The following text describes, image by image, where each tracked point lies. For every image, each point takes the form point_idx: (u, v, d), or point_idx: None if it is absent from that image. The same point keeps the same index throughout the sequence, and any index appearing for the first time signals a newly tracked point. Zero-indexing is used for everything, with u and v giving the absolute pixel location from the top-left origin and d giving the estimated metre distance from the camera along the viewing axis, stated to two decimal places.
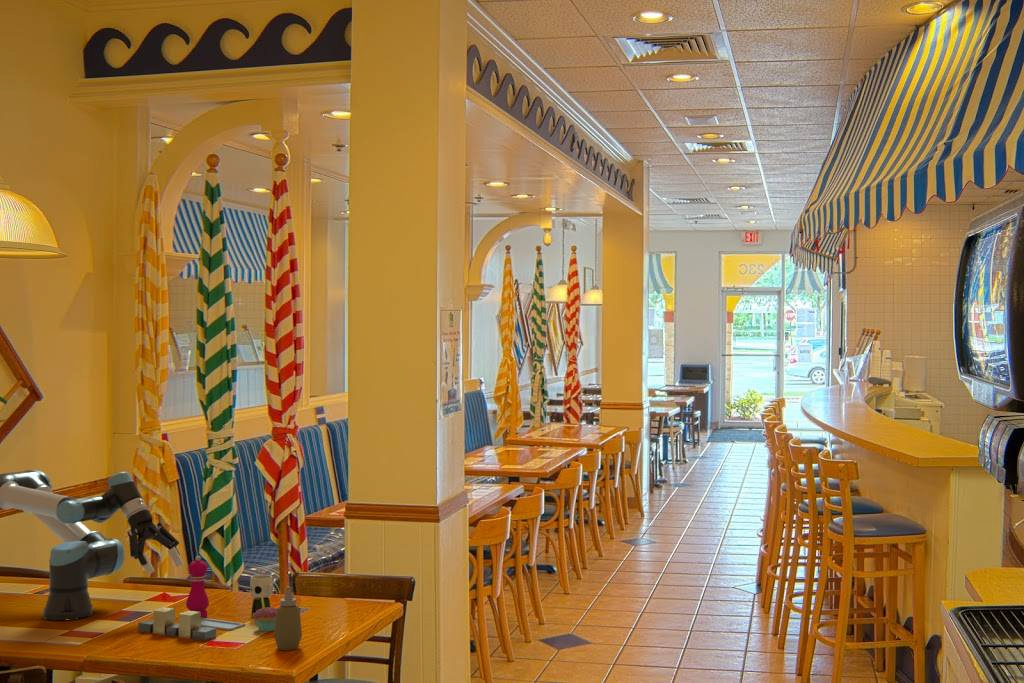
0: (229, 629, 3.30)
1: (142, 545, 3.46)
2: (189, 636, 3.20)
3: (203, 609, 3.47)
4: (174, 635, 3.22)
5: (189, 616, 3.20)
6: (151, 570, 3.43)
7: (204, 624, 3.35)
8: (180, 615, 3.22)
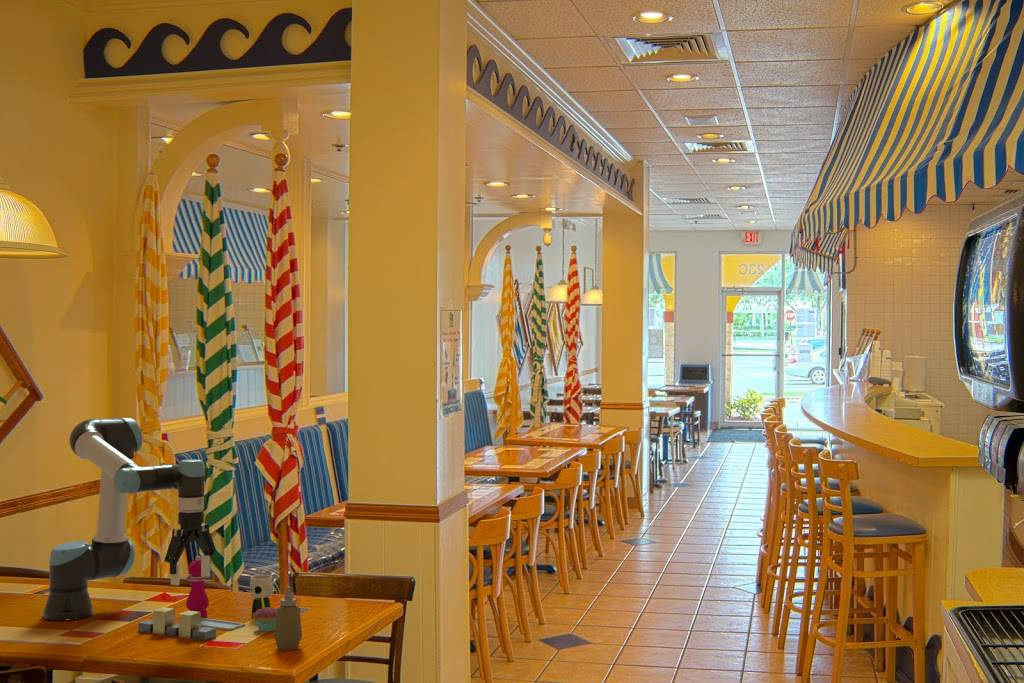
0: (229, 629, 3.30)
1: (180, 552, 3.18)
2: (189, 636, 3.20)
3: (203, 609, 3.47)
4: (174, 635, 3.22)
5: (189, 616, 3.20)
6: (176, 583, 3.17)
7: (204, 624, 3.35)
8: (180, 615, 3.22)
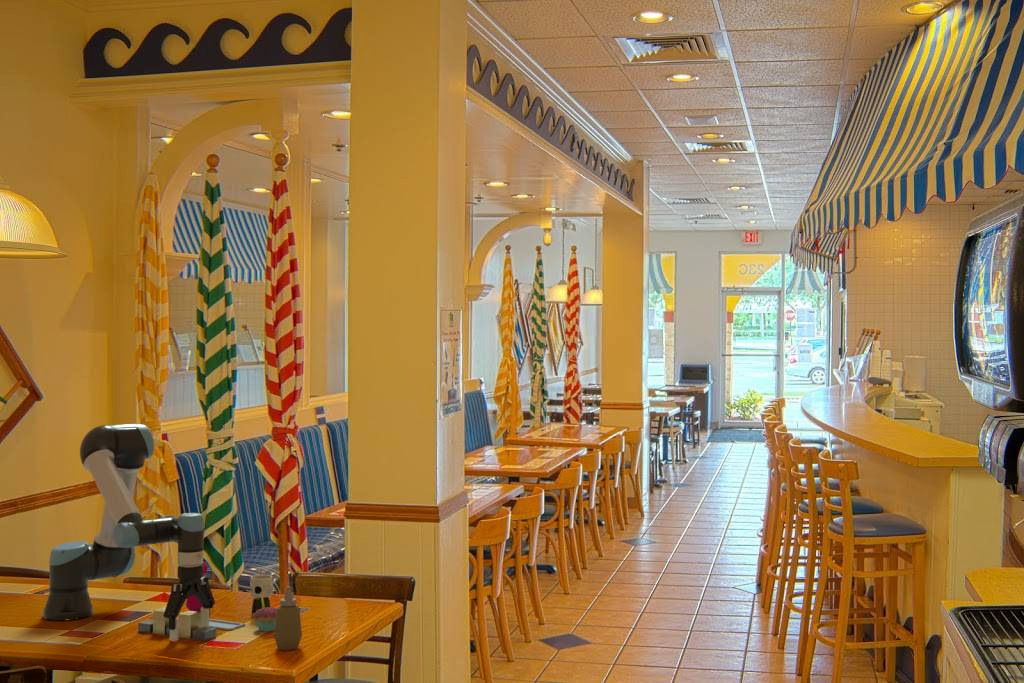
0: (229, 629, 3.30)
1: (179, 607, 3.17)
2: (189, 636, 3.20)
3: None
4: None
5: (189, 616, 3.20)
6: (175, 638, 3.16)
7: None
8: (180, 615, 3.22)
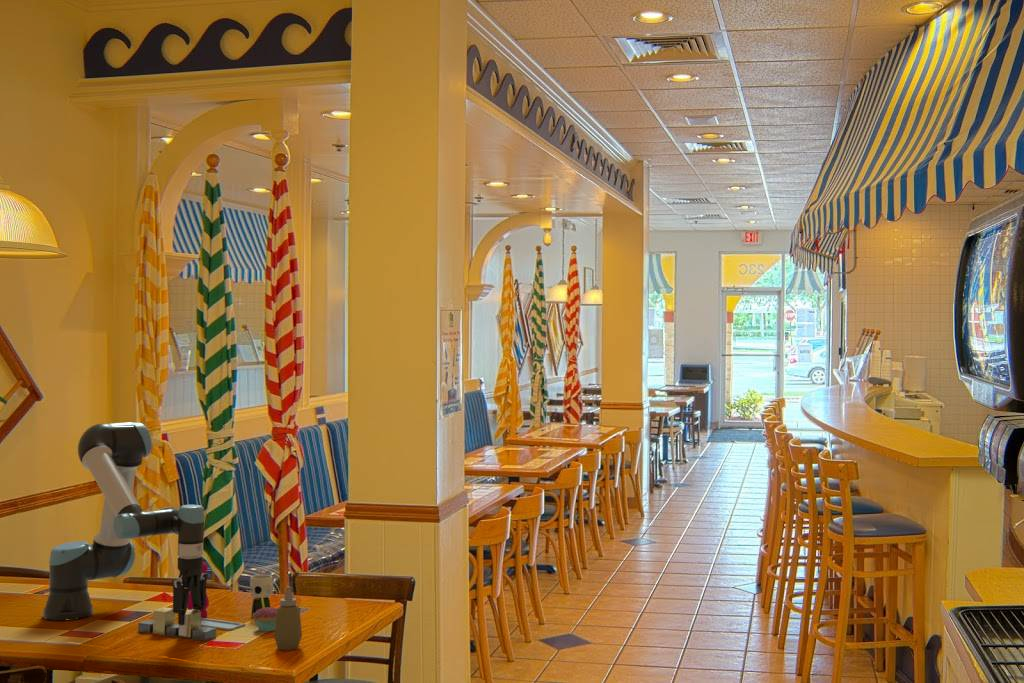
0: (229, 629, 3.30)
1: (186, 602, 3.20)
2: (189, 635, 3.20)
3: (203, 609, 3.47)
4: (174, 635, 3.22)
5: (189, 615, 3.20)
6: (184, 634, 3.20)
7: (204, 624, 3.35)
8: None
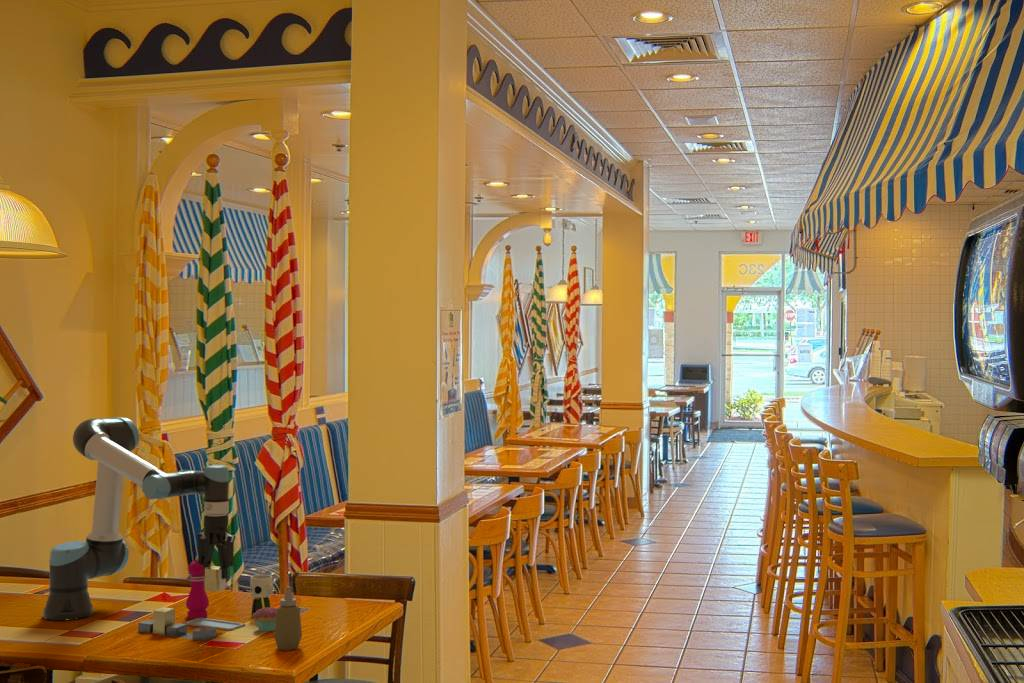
0: (229, 629, 3.30)
1: (205, 556, 3.37)
2: None
3: (203, 609, 3.47)
4: (174, 635, 3.22)
5: None
6: None
7: (204, 624, 3.35)
8: None
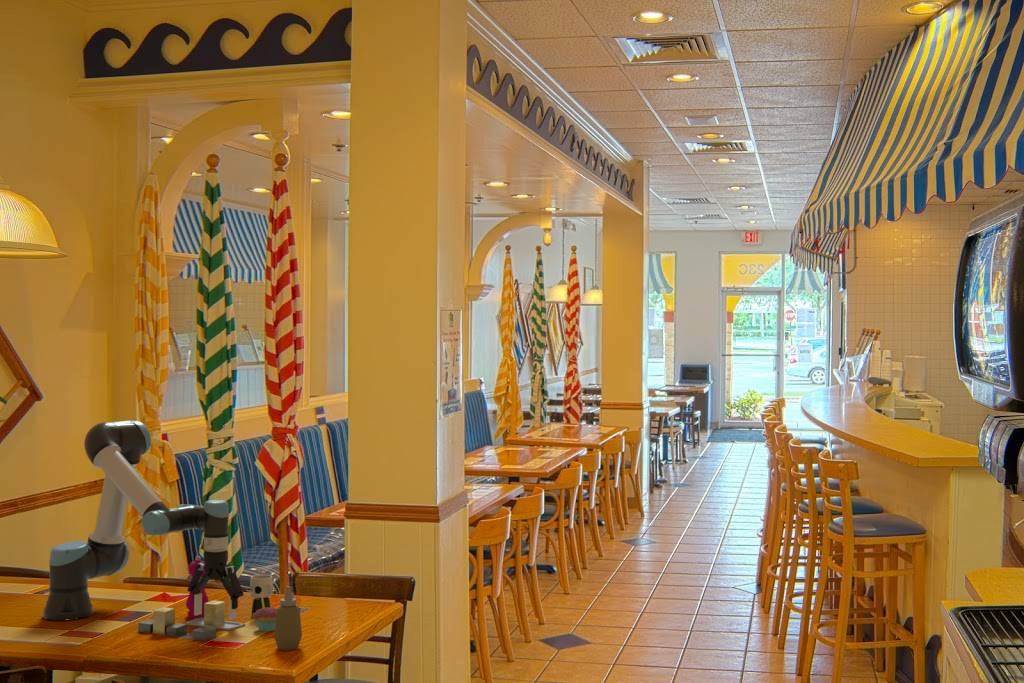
0: (229, 629, 3.30)
1: (197, 585, 3.38)
2: None
3: (203, 609, 3.47)
4: (174, 635, 3.22)
5: None
6: None
7: (204, 624, 3.35)
8: None
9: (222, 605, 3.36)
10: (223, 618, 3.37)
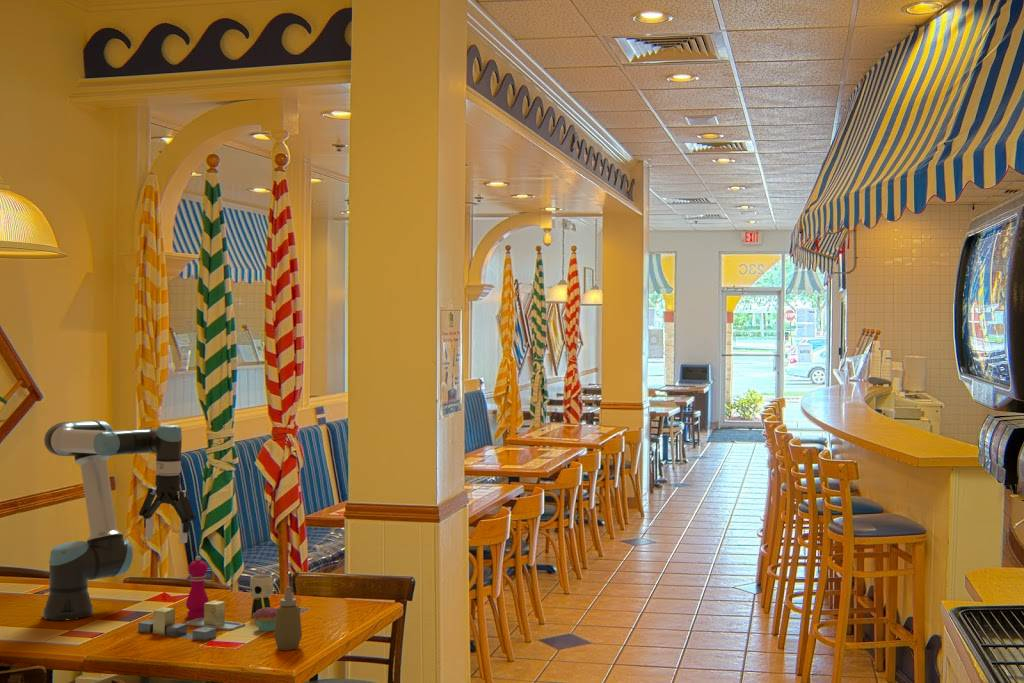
0: (229, 629, 3.30)
1: (149, 509, 3.38)
2: None
3: (203, 609, 3.47)
4: (174, 635, 3.22)
5: None
6: None
7: (204, 624, 3.35)
8: None
9: (222, 605, 3.36)
10: (223, 618, 3.37)
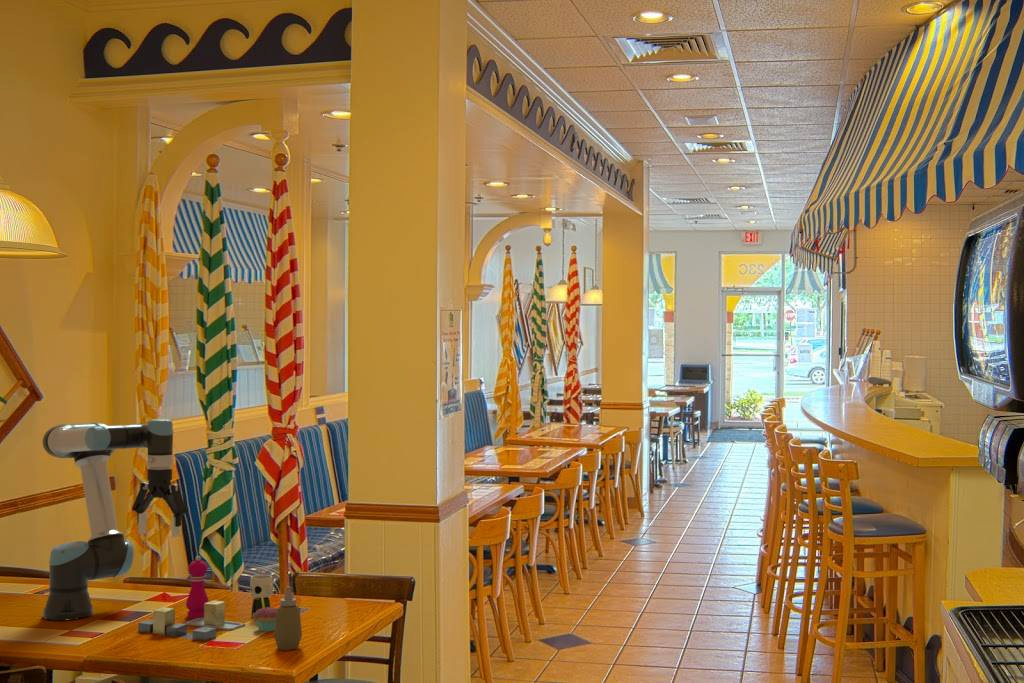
0: (229, 629, 3.30)
1: (142, 504, 3.38)
2: None
3: (203, 609, 3.47)
4: (174, 635, 3.22)
5: None
6: None
7: (204, 624, 3.35)
8: None
9: (222, 605, 3.36)
10: (223, 618, 3.37)
